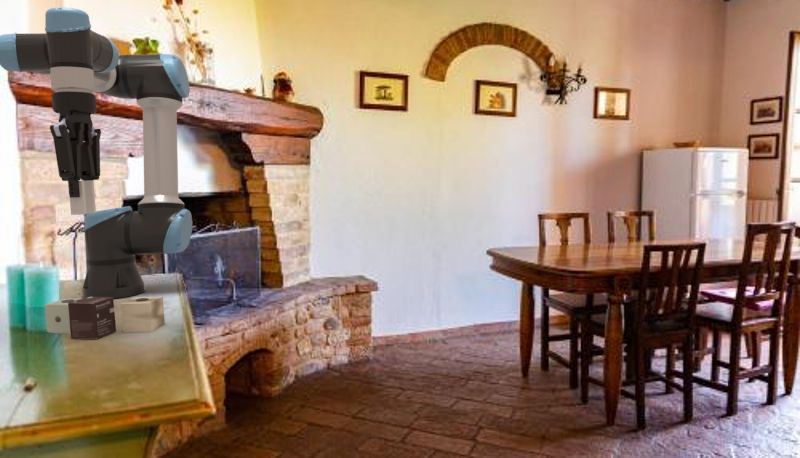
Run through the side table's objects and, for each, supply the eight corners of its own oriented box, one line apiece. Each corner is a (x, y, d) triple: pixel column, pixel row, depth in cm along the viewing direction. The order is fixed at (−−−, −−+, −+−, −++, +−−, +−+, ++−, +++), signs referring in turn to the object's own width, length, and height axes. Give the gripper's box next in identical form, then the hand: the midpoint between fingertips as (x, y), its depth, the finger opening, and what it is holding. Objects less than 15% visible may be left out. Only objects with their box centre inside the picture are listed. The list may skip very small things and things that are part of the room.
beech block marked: (137, 324, 129) (135, 296, 128) (164, 324, 128) (162, 295, 128) (123, 332, 123) (120, 302, 122) (151, 332, 123) (149, 302, 122)
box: (96, 340, 118) (93, 303, 117) (69, 339, 119) (66, 302, 118) (117, 331, 124) (114, 296, 123) (91, 331, 125) (88, 296, 124)
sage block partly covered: (69, 325, 130) (66, 297, 130) (92, 326, 129) (90, 297, 128) (46, 333, 124) (43, 303, 124) (71, 334, 123) (68, 304, 122)
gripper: (78, 97, 124) (87, 211, 127) (27, 88, 109) (39, 217, 111) (113, 96, 124) (122, 210, 126) (68, 86, 108) (78, 216, 111)
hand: (83, 213), depth 119 cm, fingers open, 3 cm apart
